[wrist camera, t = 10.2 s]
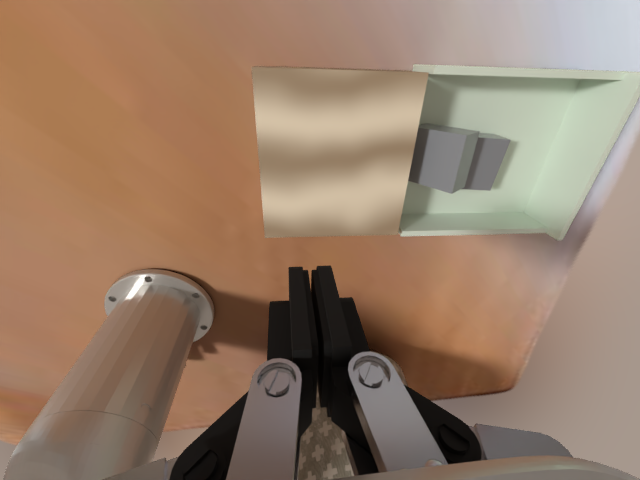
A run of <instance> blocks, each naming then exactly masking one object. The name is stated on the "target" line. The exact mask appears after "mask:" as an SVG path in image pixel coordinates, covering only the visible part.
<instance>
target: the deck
mask: <svg viewBox="0 0 640 480" xmlns="http://www.w3.org/2000/svg"><path fill="white" fill-rule="evenodd" d="M428 75H429V73H427V72H416V71H403V70H371V69H340V68H309V67H277V66H254V67H252V79H253V92H254V105H255V117H256V130H257V142H258V155H259V168H260V180H261V193H262V206H263V218H264V231H265V238H272V237H318V236H364V235H398V230H399V225H400V220H401V215H402V210H403V204H404V199H405V194H406V189H407V184H408V178H409V173H410V168H411V163H412V158H413V153H414V147H415V142H416V137H417V132H418V127H419V121H420V116H421V111H422V106H423V101H424V95H425V90H426V85H427V80H428Z"/></svg>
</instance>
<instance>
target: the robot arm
mask: <svg viewBox="0 0 640 480" xmlns="http://www.w3.org/2000/svg"><path fill="white" fill-rule="evenodd" d="M104 306H105V311H106V314H107V316H108V317H107V318H106V320H105V321H104V323H103V324H102V325H101V327H100V328H99V330H98V331H97V332H96V334H95V335H94V337H93V338H92V340H91V341H90V342H89V344H88V345H87V347H86V348H85V349H84V351H83V352H82V354H81V355H80V357H79V358H78V359H77V361H76V362H75V364H74V365H73V367H72V368H71V369H70V371H69V372H68V374H67V375H66V376H65V378H64V379H63V381H62V382H61V384H60V385H59V386H58V388H57V389H56V391H55V392H54V393H53V395H52V396H51V398H50V399H49V401H48V402H47V403H46V405H45V406H44V408H43V409H42V411H41V412H40V413H39V415H38V416H37V418H36V419H35V420H34V422H33V423H32V425H31V426H30V428H29V429H28V430H27V432H26V433H25V435H24V436H23V438H22V439H21V441H20V442H19V444H18V445H17V447H16V448H15V450H14V452H13V454H12V456H11V458H10V460H9V462H8V465H7V469H6V471H5V475H4V479H3V480H298V473H299V461H300V448H301V436H302V435H303V433H304V432H305V431H306V430H307V428H308V427H309V426H310V425H311V423H312V409H313V408H316V395H317V384H318V393H319V401H320V407H321V408H324V407H326V411H327V417H331V421H332V422H333V423H335V424H336V425H337V426H338V427H340V428H341V435H342V439H343V442H344V445H345V448H346V451H347V455H348V458H349V461H350V464H351V467H352V471H353V474H354V476H351V477H343V478H335V479H327V480H640V479H639V478H637V477H634V476H632V475H630V474H628V473H625V472H623V471H620V470H618V469H615V468H612V467H609V466H606V465H603V464H600V463H597V462H593V461H588V460H584V459H580V458H573V457H572V455H571V454H570V452H569V451H568V450H567V449H566V448H565V447H564V446H563V445H562V444H560V442H558V441H557V440H555V439H553V438H552V437H550V436H548V435H545V434H541V433H537V432H530V431H524V430H517V429H509V428H502V427H496V426H489V425H482V424H475V426H474V427H472V426H468V425H466V424H465V423H464V422H463V421H461V420H460V419H458V418H457V417H455V416H454V415H452V414H450V413H449V412H447V411H446V410H444V409H442V408H441V407H439V406H438V405H436V404H435V403H433V402H431V401H430V400H428V399H427V398H425V397H423V396H422V395H420V394H419V393H417V392H415V391H414V390H412V389H411V388H409V387H408V386H406V385H404V384H403V383H402V381H401V379H400V377H399V375H398V374H397V372H396V370H395V368H394V366H393V365H392V364H391V362H390V361H389V360H388V359H386V358H385V357H384V356H382V355H380V354H378V353H374V352H370V350H369V347H368V344H367V341H366V338H365V334H364V331H363V328H362V325H361V322H360V319H359V316H358V313H357V310H356V306H355V303H354V301H353V298H352V297H350V298H339V294H338V291H337V287H336V283H335V279H334V275H333V272H332V268H331V266H317V270H312V277H311V289H310V282H309V275H308V270H303V268H302V267H289V301H272V302H270V306H269V328H268V351H267V361H266V362H264V363H263V364H261V365H260V366H259V367H258V368H257V369H256V371H255V372H254V375H253V377H252V380H251V384H250V388H249V391H248V392H247V393H246V394H245V395H244V396H243V397H241V398H240V399H239V400H238V401H237V402H236V403H235V404H234V405H233V406H232V407H231V408H230V409H228V410H227V411H226V412H225V413H224V414H223V415H222V416H221V417H220V418H219V419H218V420H217V421H215V422H214V423H213V424H212V425H211V426H210V427H209V428H208V429H207V430H206V431H205V432H203V433H202V434H201V435H200V436H199V437H198V438H197V439H196V440H195V441H194V442H193V443H192V444H190V445H189V446H188V447H187V448H186V449H185V450H184V451H183V453H182V454H181V455H180V456H179V457H176V458H173V459H171V460H168V461H166V458H163V459H160V460H157V461H154V462H152V461H153V458H154V455H155V452H156V449H157V446H158V443H159V441H160V438H161V435H162V432H163V429H164V426H165V423H166V420H167V417H168V414H169V411H170V408H171V405H172V402H173V399H174V396H175V393H176V390H177V387H178V384H179V381H180V379H181V376H182V373H183V370H184V368H185V366H186V361H187V358H188V355H189V352H190V349H191V346H192V343H193V342H195V341H197V340H199V339H200V338H202V337H203V336H204V335H205V334H206V333H207V332H208V331H209V329H210V327H211V325H212V322H213V319H214V306H213V302H212V300H211V298H210V296H209V295H208V294H207V292H206V291H205V290H204V289H203V288H202V287H201V286H200V285H199V284H197V283H196V282H194V281H193V280H191V279H189V278H187V277H185V276H183V275H181V274H178V273H174V272H171V271H166V270H159V269H145V270H138V271H134V272H131V273H128V274H126V275H124V276H122V277H121V278H119V279H118V280H117V281H116V282H115V283H114V284H113V285H112V286H111V288H110V289H109V290H108V292H107V294H106V296H105V302H104Z"/></svg>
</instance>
